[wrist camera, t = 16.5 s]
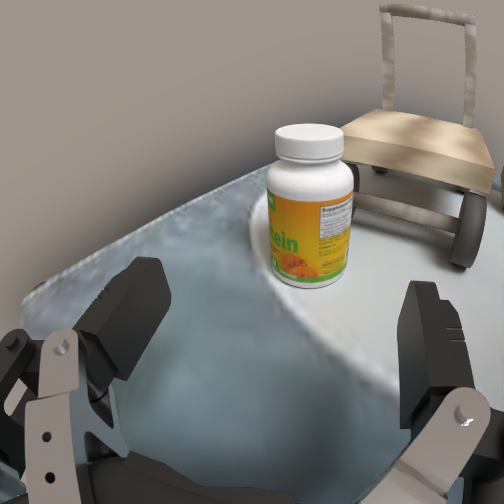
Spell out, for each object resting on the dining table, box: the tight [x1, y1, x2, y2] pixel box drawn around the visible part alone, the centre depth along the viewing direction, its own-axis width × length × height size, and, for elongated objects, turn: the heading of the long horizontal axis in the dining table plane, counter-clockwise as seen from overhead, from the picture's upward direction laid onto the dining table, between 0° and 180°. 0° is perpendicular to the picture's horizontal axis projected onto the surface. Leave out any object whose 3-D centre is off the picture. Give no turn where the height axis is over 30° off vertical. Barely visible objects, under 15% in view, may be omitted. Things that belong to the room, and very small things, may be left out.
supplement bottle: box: [266, 124, 354, 288], centre depth 20 cm, size 5×5×10 cm
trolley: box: [339, 3, 495, 268], centre depth 23 cm, size 13×22×22 cm, turn 146°
